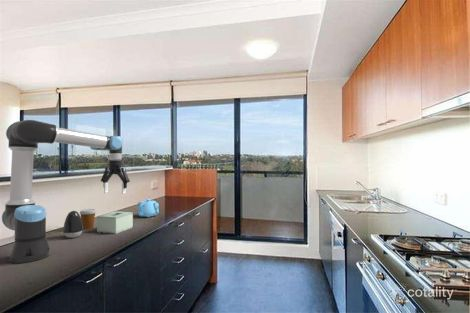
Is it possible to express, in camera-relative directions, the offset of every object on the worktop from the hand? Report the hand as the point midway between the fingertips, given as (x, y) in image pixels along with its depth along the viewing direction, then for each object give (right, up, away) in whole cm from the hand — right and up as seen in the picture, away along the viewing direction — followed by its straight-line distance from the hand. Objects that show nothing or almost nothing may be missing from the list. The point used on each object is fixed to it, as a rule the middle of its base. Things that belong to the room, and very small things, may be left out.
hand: (114, 193), depth 176 cm
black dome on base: (-18, -24, -15) cm, 33 cm away
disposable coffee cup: (-19, -24, +4) cm, 31 cm away
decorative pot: (+8, -24, +42) cm, 49 cm away
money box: (0, -24, 0) cm, 24 cm away
